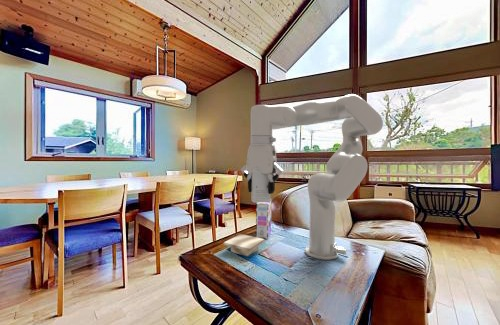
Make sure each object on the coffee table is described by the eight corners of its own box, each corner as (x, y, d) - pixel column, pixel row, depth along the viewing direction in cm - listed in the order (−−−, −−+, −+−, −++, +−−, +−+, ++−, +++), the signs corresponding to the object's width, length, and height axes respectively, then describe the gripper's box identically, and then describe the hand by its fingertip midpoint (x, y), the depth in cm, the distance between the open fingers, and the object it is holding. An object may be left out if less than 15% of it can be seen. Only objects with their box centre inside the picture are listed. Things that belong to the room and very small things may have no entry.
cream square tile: (264, 248, 99) (264, 239, 99) (249, 259, 88) (249, 248, 88) (240, 242, 105) (240, 233, 105) (223, 252, 95) (223, 242, 95)
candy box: (268, 239, 110) (268, 203, 109) (255, 238, 111) (255, 203, 110) (271, 230, 123) (271, 198, 123) (260, 229, 124) (260, 197, 124)
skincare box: (254, 203, 81) (254, 167, 81) (250, 200, 85) (250, 166, 85) (271, 202, 83) (271, 167, 82) (267, 199, 87) (267, 166, 87)
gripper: (288, 141, 82) (288, 193, 83) (245, 142, 91) (245, 189, 92) (280, 140, 76) (280, 196, 77) (234, 141, 84) (234, 191, 85)
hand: (261, 192), depth 84 cm, fingers closed on skincare box, 7 cm apart
